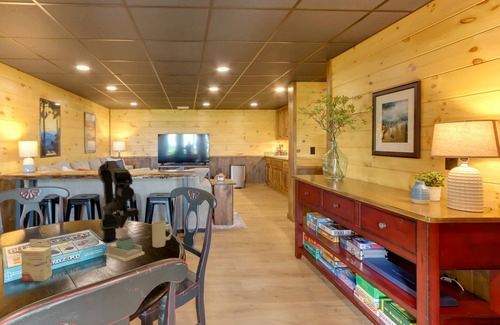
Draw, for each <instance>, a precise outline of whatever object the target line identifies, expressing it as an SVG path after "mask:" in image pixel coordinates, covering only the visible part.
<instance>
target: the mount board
mask: <svg viewBox="0 0 500 325" xmlns="http://www.w3.org/2000/svg"><path fill="white" fill-rule="evenodd" d="M106 248H107V252H105V253H104V256H105V255H106V256H105V257H107V256H108V258H111V259H113V260H117V261H122V262H125V263H126V262H128V261H131V260H132V259H136V258H137V257H140V256H143V255H145V251H143V246H142V245H140V244H136V243H133V249H130V250H127V251H126V250H123V249H119V248H116V246H111V245H107V246H106Z"/></svg>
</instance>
